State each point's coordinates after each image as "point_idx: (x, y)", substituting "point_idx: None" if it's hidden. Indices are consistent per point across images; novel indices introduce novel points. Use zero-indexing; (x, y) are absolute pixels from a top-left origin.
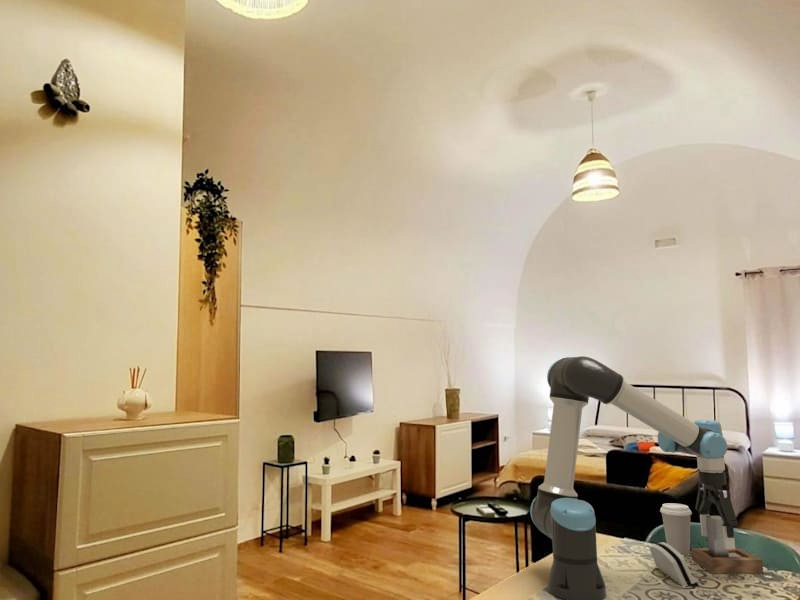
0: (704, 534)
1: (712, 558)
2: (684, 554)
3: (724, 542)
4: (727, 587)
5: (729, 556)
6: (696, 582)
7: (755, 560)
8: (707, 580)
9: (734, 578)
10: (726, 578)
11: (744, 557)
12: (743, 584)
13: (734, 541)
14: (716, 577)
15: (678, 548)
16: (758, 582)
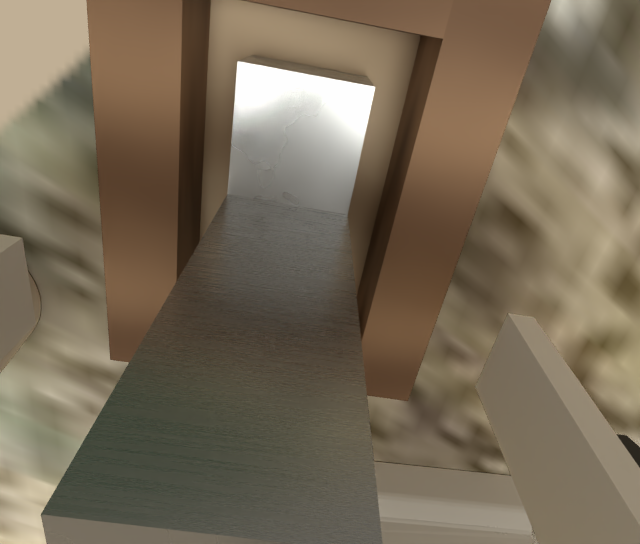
0: (21, 317)
1: (377, 370)
2: (33, 298)
3: (501, 432)
4: (595, 394)
5: (337, 200)
6: (516, 496)
7: (530, 53)
8: (476, 416)
9: (505, 276)
10: (487, 318)
11: (429, 108)
12: (605, 296)
13: (569, 368)
14: (454, 355)
15: (12, 354)
16: (628, 184)
